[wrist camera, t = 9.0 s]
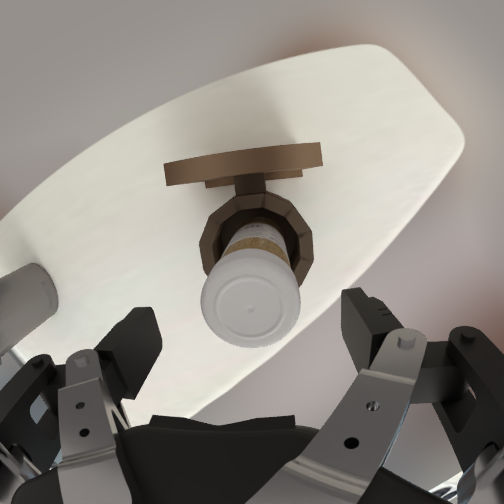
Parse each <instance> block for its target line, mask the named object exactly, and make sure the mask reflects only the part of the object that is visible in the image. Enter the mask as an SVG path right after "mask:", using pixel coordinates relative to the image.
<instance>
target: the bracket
mask: <svg viewBox="0 0 504 504" xmlns="http://www.w3.org/2000/svg"><path fill="white" fill-rule="evenodd" d="M319 166H323V162H322V154H321V146H320V142H316V143H302V144H290V145H280V146H270V147H261V148H253V149H245V150H238V151H231V152H225V153H218V154H212V155H206V156H201V157H195V158H190V159H184V160H179V161H174V162H170V163H165V164H164V171H165V178H166V185H167V186H171V185H179V184H187V183H195V182H204V181H205V186H206V188H212V187H219V186H226V185H233V184H235V192H236V196H235V197H233V198H232V199H230V200H229V201H228V202H226V203H225V204H224V205H223V206H221V207H220V208H219V209H217V210H216V211H215V212H214V213H212V214H211V215H210V216H209V218H208V221H207V223H206V226H205V228H204V231H203V234H202V236H201V239H200V242H199V243H200V244H199V247H200V253H201V258H202V264H203V269H204V271H205V274H206V275H207V276H209V274H210V272H211V270H212V269H213V267H214V266H215V265H216V263H217V262H218V261H219V260H220V259H221V257H222V255H223V253H224V251H225V249H226V247H227V246H228V244H229V242H230V241H231V239H232V237H233V236H234V234H235V232H236V230H237V229H238V227H239V226H240V224H241V223H243V222H244V221H245V220H247V219H249V218H253V217H265V218H269V219H271V220H273V221H274V222H275V223H276V224H278V225H279V227H280V228H281V230H282V232H283V235H284V242H285V245H286V250H287V254H288V258H289V262H290V268H291V270H292V272H293V273H294V275H295V277H296V280H297V284H298V288H299V287H300V285H302V283H303V281H304V279H305V277H306V275H307V273H308V271H309V269H310V267H311V265H312V263H313V260H314V254H313V240H312V231H311V229H310V228H309V226H308V225H307V223H306V222H305V221H304V219H303V218H302V216H301V215H300V214H299V212H298V211H297V209H296V208H295V207H294V205H293V204H292V203H291V202H290V201H289V200H286V199H284V198H282V197H281V196H279V195H276V194H274V193H270V192H268V191H266V184H265V180H274V179H284V178H294V177H303V174H302V169H307V168H313V167H319Z"/></svg>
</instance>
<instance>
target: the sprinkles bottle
mask: <svg viewBox="0 0 504 504" xmlns="http://www.w3.org/2000/svg"><path fill="white" fill-rule="evenodd" d="M300 306H301V301H300V292H299V288H298V284H297V280H296V277H295V275H294V273H293V272H292V270H291V268H290V262H289V258H288V254H287V250H286V245H285V242H284V235H283V232H282V230H281V228H280V227H279V225H278V224H276V223H275V222H274V221H273V220H271V219H269V218H265V217H253V218H249V219H247V220H245V221H244V222H243V223H241V224H240V226H239V227H238V229H237V230H236V232H235V234H234V236H233V237H232V239H231V241H230V242H229V244H228V246H227V247H226V249H225V251H224V253H223V255H222V257H221V259H220V260H219V261H218V262H217V263H216V265H215V266H214V267H213V269H212V270H211V272H210V274H209V276H208V277H207V279H206V282H205V284H204V286H203V289H202V293H201V310H202V314H203V316H204V319H205V321H206V323H207V324H208V326H209V327H210V329H211V330H212V331H213V332H214V333H215V334H216V335H217V336H218V337H220V338H221V339H223V340H224V341H226V342H228V343H230V344H233V345H236V346H240V347H245V348H258V347H264V346H268V345H271V344H273V343H275V342H277V341H279V340H281V339H282V338H283V337H284V336H286V335H287V334H288V333H289V332H290V331H291V329H292V328H293V327H294V325H295V323H296V321H297V319H298V316H299V313H300Z"/></svg>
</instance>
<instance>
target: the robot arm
mask: <svg viewBox="0 0 504 504" xmlns="http://www.w3.org/2000/svg"><path fill="white" fill-rule="evenodd" d="M57 307H58V298H57V293H56V289H55V287H54V284H53V282H52V280H51V278H50V277H49V275H48V274H47V272H46V271H45V270H44V269H43V268H42V267H40V266H39V265H37V264H34V263H31V264H28V265H26V266H24V267H22V268H19V269H17V270H15V271H13V272H11V273H9V274H7V275H5V276H4V277H2V278H0V358H1V356H3V355H4V354H5V353H6V352H8V351H9V350H10V349H11V348H12V347H14V346H15V345H16V344H17V343H18V342H20V341H21V340H22V339H23V338H24V337H26V336H27V335H28V334H29V333H31V332H32V331H33V330H34V329H36V328H37V327H38V326H39V325H41V324H42V323H43V322H45V321H46V320H47V319H48V318H50V317H51V316H52V315H53V314H55V312H56V310H57ZM341 330H342V336H343V339H344V341H345V343H346V346H347V348H348V350H349V353H350V355H351V357H352V360H353V362H354V365H355V367H356V369H357V372H358V376H357V377H356V379H355V380H354V382H353V383H352V385H351V386H350V388H349V389H348V391H347V393H346V394H345V396H344V397H343V399H342V400H341V401H340V403H339V404H338V406H337V407H336V409H335V410H334V412H333V413H332V415H331V416H330V417H329V418H328V420H327V421H326V423H325V424H324V425H323V427H322V428H321V429H320V430H319V429H315V428H311V427H306V426H298V425H295V416H294V415H291V416H280V417H266V418H255V419H250V420H246V421H242V422H236V423H232V424H226V425H220V426H217V425H212V424H207V423H203V422H198V421H195V420H191V419H187V418H183V417H170V416H159V415H152V418H151V420H150V422H149V424H146V425H140V426H136V427H131V425H130V422H129V420H128V417H127V414H126V412H125V409H124V406H123V405H122V403H121V400H122V398H124V399H132V400H135V398H136V396H137V394H138V393H139V391H140V389H141V387H142V385H143V383H144V381H145V380H146V378H147V376H148V374H149V372H150V370H151V369H152V367H153V365H154V363H155V361H156V360H157V358H158V356H159V354H160V352H161V350H162V337H161V334H160V331H159V327H158V324H157V321H156V317H155V314H154V311H153V309H152V308H151V307H135V308H133V309H132V310H131V312H130V313H129V314H128V315H127V316H126V317H125V318H124V319H123V320H122V321H120V322H118V323H117V324H116V325H115V326H114V327H113V328H112V329H111V331H109V332H108V334H107V336H105V337H104V338H103V339H102V340H101V341H100V342H99V344H98V345H97V346H96V347H95V348H94V349H93V350H92V349H85V350H80V351H78V352H76V353H74V354H72V355H71V356H70V357H69V358H68V359H67V361H66V364H63V365H55V364H54V362H53V360H52V358H51V356H50V355H48V354H41V355H37V356H35V357H33V358H31V359H30V360H29V361H28V362H27V363H26V364H25V365H24V366H23V367H22V368H21V369H20V370H19V371H18V372H17V373H16V374H15V375H14V377H13V378H12V379H11V380H10V381H9V382H8V383H7V384H6V385H5V386H4V387H3V389H2V390H1V391H0V504H452V503H451V502H449V501H447V500H445V499H443V498H441V497H438V496H436V495H434V494H432V493H430V492H428V491H426V490H424V489H422V488H420V487H418V486H416V485H414V484H412V483H411V482H409V481H407V480H405V479H403V478H401V477H400V476H398V475H396V474H394V473H392V472H391V471H389V470H387V469H386V468H384V467H383V466H384V464H385V462H386V460H387V457H388V455H389V453H390V451H391V449H392V447H393V445H394V442H395V440H396V438H397V436H398V433H399V431H400V429H401V426H402V424H403V421H404V419H405V416H406V414H407V411H408V408H409V406H410V404H417V403H432V405H433V407H434V409H435V411H436V413H437V415H438V417H439V419H440V421H441V423H442V425H443V427H444V430H445V432H446V434H447V436H448V438H449V441H450V443H451V445H452V447H453V449H454V452H455V454H456V456H457V459H458V461H459V464H460V466H461V469H462V471H463V475H462V477H461V478H460V480H459V482H458V485H457V496H458V498H457V500H458V503H457V504H504V354H503V353H502V352H501V351H500V350H499V349H498V348H497V347H496V346H495V345H494V344H493V343H492V342H491V341H490V340H489V339H488V338H487V336H486V335H485V334H483V332H481V331H480V330H479V329H476V328H473V327H470V326H460V327H456V328H454V329H453V330H452V331H451V332H450V334H449V338H448V341H439V342H427V338H426V337H425V335H424V334H423V333H421V332H420V331H418V330H415V329H409V328H404V327H403V326H402V324H401V323H400V322H399V321H398V320H397V318H396V317H395V316H394V315H393V314H392V312H391V311H390V310H389V309H388V308H387V306H386V305H385V304H384V303H383V301H380V300H379V299H377V298H375V297H369V298H368V296H367V295H366V294H365V293H364V291H363V290H362V289H361V288H360V287H358V288H351V289H344V290H342V293H341ZM469 386H470V387H471V388H472V390H473V391H474V393H475V396H476V399H475V398H474V396H473V395H472V393H471V392H470V390H469ZM39 394H40V396H41V398H42V399H43V401H44V402H45V404H46V405H47V407H48V409H47V410H46V412H45V413H44V415H43V416H42V418H41V419H40V420H39V422H38V424H36V423H35V422H34V420H33V419H32V417H31V415H30V406H31V405H32V403H33V402H34V401H35V399H36V398H37V397H38V396H39ZM60 449H61V450H62V462H60V463H59V464H58V466H57V467H55V468H53V469H51V470H49V469H50V467H51V465H52V463H53V462H54V460H55V458H56V456H57V454H58V452H59V451H60Z"/></svg>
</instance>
